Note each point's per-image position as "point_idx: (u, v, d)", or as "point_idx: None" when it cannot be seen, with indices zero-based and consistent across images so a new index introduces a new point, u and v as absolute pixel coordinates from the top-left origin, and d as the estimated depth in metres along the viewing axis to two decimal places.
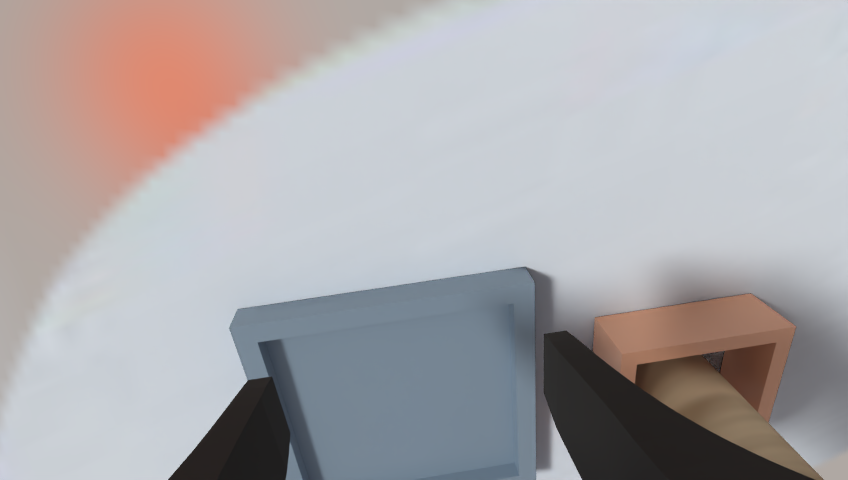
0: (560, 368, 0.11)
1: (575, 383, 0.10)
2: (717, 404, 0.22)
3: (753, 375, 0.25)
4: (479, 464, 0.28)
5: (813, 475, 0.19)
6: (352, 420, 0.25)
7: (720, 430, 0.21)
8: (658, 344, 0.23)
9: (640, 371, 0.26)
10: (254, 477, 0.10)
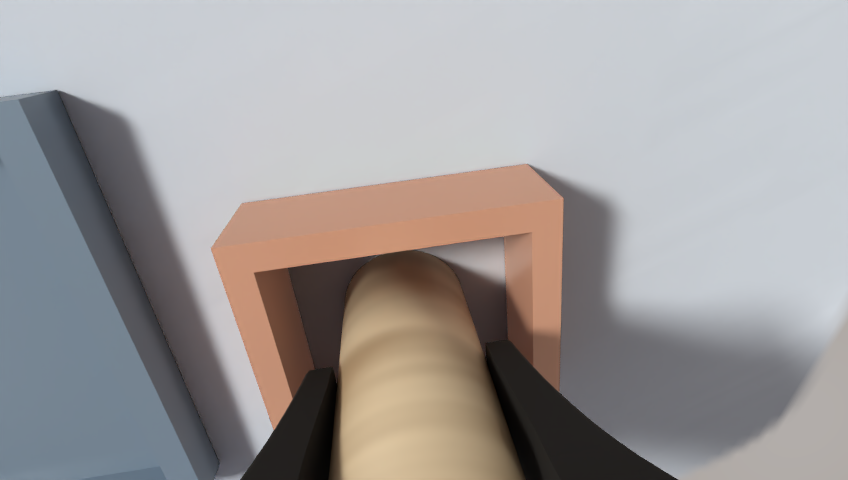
0: (497, 378, 0.11)
1: (507, 394, 0.10)
2: (390, 346, 0.11)
3: (524, 306, 0.14)
4: (115, 466, 0.17)
5: None
6: None
7: (363, 396, 0.10)
8: (293, 232, 0.12)
9: (345, 305, 0.15)
10: (325, 465, 0.10)
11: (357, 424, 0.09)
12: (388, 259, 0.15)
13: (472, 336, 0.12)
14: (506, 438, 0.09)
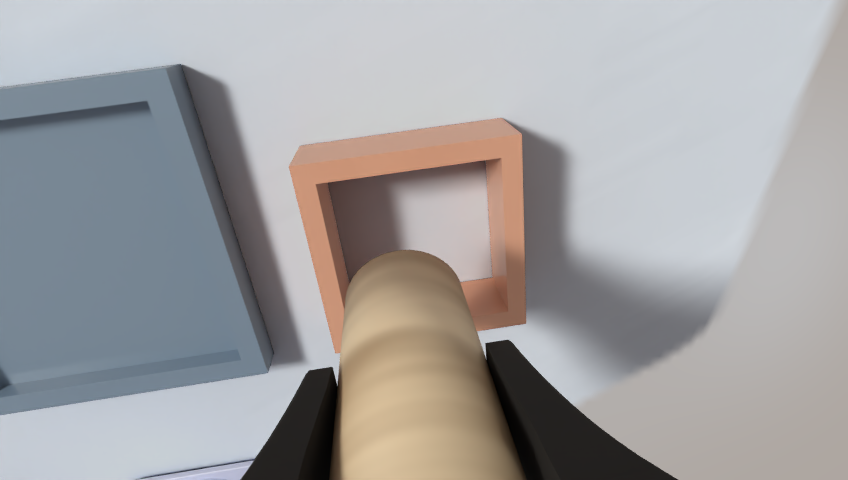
0: (497, 378, 0.11)
1: (507, 394, 0.10)
2: (390, 345, 0.11)
3: (499, 217, 0.20)
4: (199, 349, 0.23)
5: None
6: (5, 280, 0.20)
7: (364, 395, 0.10)
8: (341, 157, 0.17)
9: (345, 304, 0.15)
10: (325, 465, 0.10)
11: (358, 423, 0.09)
12: (389, 259, 0.15)
13: (472, 336, 0.12)
14: (507, 438, 0.09)
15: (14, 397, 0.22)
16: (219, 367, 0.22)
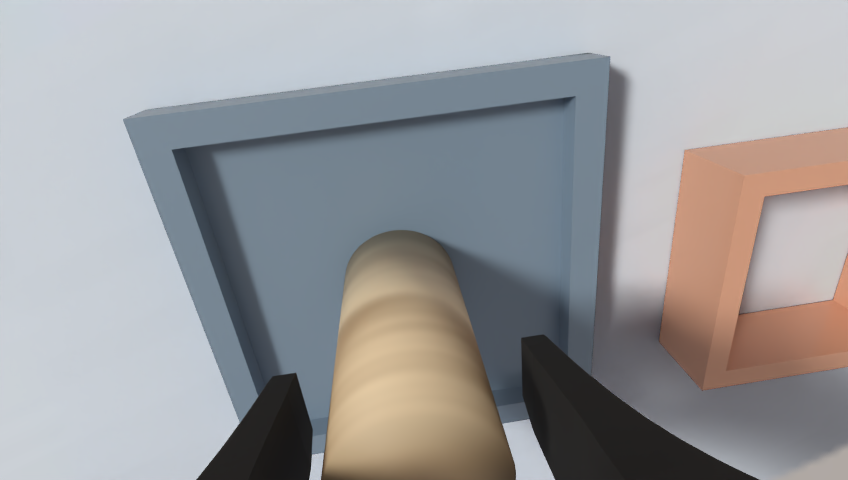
0: (535, 372, 0.11)
1: (548, 387, 0.10)
2: (383, 308, 0.12)
3: None
4: (509, 382, 0.20)
5: (464, 423, 0.09)
6: (328, 305, 0.17)
7: (359, 349, 0.11)
8: (798, 164, 0.15)
9: (345, 279, 0.16)
10: (282, 472, 0.10)
11: (353, 371, 0.11)
12: (385, 237, 0.16)
13: (459, 303, 0.14)
14: (484, 385, 0.11)
15: None
16: None
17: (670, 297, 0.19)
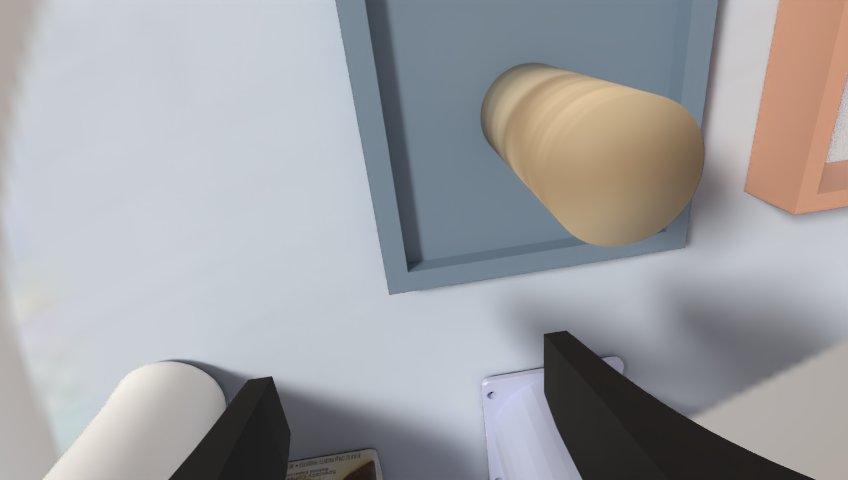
0: (560, 368, 0.11)
1: (575, 383, 0.10)
2: (559, 79, 0.14)
3: None
4: None
5: (673, 105, 0.11)
6: (463, 139, 0.20)
7: (552, 96, 0.13)
8: None
9: (486, 105, 0.19)
10: (254, 476, 0.10)
11: (555, 104, 0.13)
12: (523, 65, 0.18)
13: None
14: None
15: (440, 269, 0.21)
16: (642, 240, 0.22)
17: (759, 141, 0.21)
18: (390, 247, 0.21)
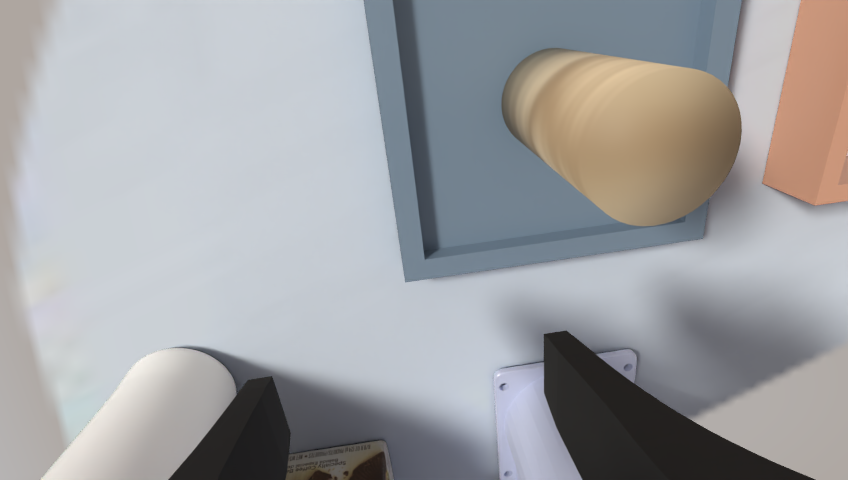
0: (560, 368, 0.11)
1: (575, 383, 0.10)
2: (588, 60, 0.14)
3: None
4: None
5: (713, 80, 0.11)
6: (483, 124, 0.20)
7: (583, 75, 0.13)
8: None
9: (509, 90, 0.18)
10: (254, 476, 0.10)
11: (588, 82, 0.13)
12: (546, 50, 0.18)
13: None
14: None
15: (457, 256, 0.21)
16: (660, 230, 0.22)
17: (779, 132, 0.21)
18: (408, 233, 0.20)
